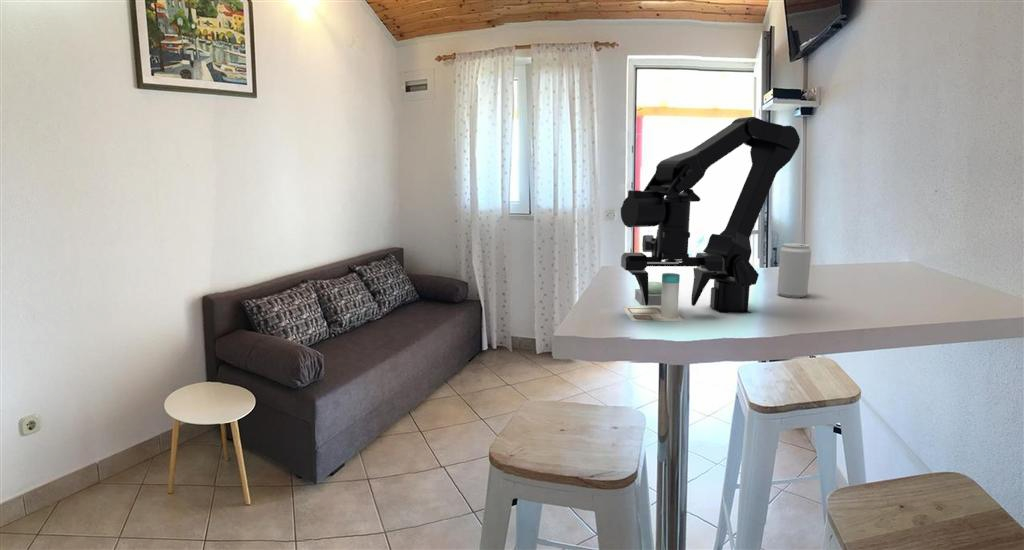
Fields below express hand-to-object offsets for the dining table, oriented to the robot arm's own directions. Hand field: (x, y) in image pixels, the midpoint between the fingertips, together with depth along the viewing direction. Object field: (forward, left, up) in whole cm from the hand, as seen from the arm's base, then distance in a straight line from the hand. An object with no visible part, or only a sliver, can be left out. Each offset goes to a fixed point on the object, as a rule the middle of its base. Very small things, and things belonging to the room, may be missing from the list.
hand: (669, 305), depth 117 cm
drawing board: (+3, -2, -3) cm, 4 cm away
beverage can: (-34, -22, -3) cm, 41 cm away
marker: (0, 0, -2) cm, 2 cm away
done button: (0, -13, -1) cm, 13 cm away
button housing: (0, -13, -3) cm, 13 cm away
